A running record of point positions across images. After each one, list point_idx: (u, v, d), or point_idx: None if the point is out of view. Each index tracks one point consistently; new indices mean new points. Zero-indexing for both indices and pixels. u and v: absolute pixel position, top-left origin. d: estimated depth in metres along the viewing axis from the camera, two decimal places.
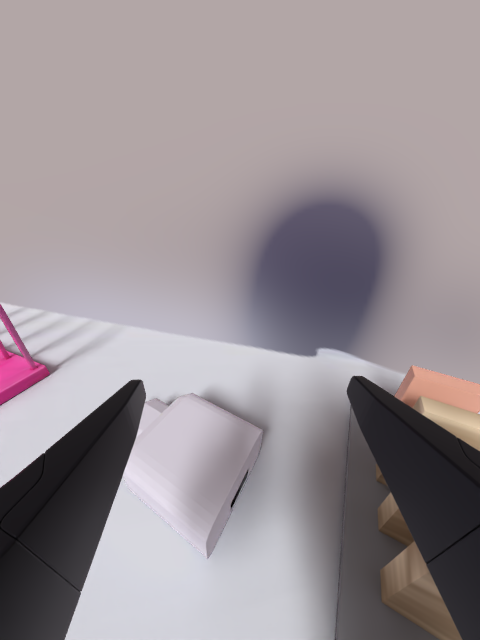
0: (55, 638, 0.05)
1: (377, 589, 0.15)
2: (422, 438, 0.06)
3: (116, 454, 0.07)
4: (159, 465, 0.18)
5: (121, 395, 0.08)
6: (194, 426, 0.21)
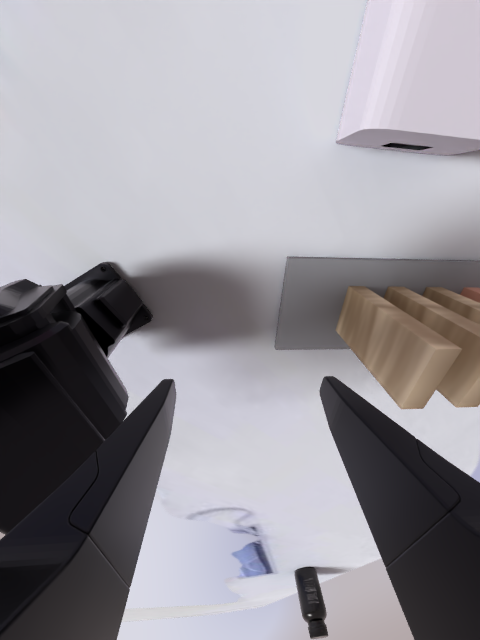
0: (111, 633, 0.05)
1: (353, 283, 0.21)
2: (381, 439, 0.06)
3: (156, 452, 0.07)
4: None
5: (157, 394, 0.08)
6: None
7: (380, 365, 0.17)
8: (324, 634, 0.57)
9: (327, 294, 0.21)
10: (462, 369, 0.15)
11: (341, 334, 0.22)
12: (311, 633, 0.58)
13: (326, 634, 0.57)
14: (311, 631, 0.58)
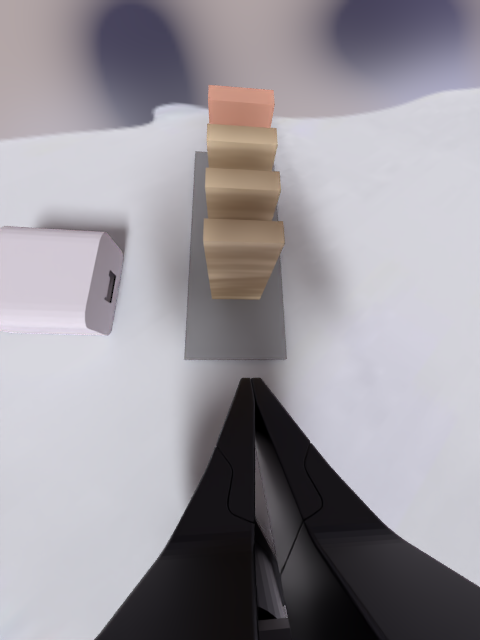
0: None
1: (209, 294, 0.23)
2: (273, 444, 0.06)
3: None
4: (10, 303, 0.17)
5: (245, 392, 0.08)
6: (26, 258, 0.19)
7: (257, 266, 0.16)
8: None
9: (220, 316, 0.22)
10: (241, 200, 0.15)
11: (258, 295, 0.22)
12: None
13: None
14: None
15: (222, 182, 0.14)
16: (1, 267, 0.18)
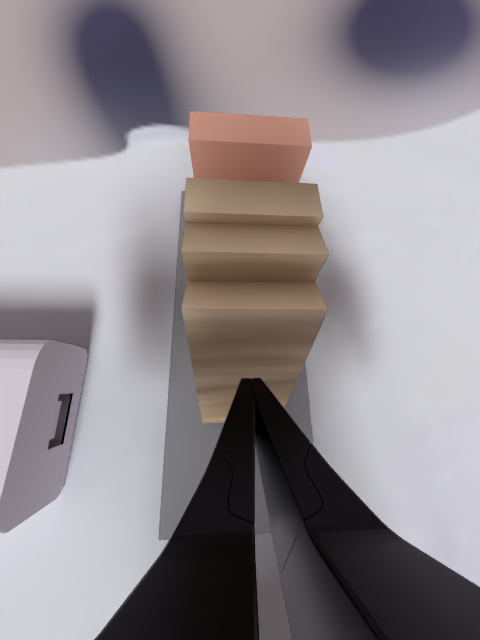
0: None
1: (200, 417, 0.15)
2: (273, 444, 0.06)
3: None
4: None
5: (245, 392, 0.08)
6: None
7: (277, 359, 0.10)
8: None
9: None
10: (252, 273, 0.08)
11: None
12: None
13: None
14: None
15: (216, 243, 0.08)
16: None
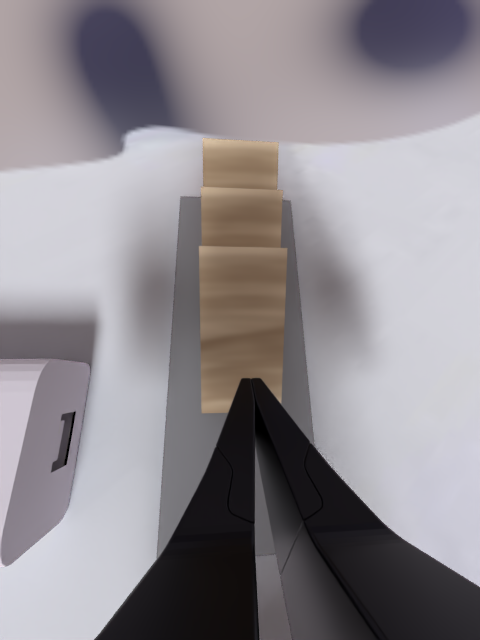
0: None
1: (199, 434, 0.15)
2: (273, 444, 0.06)
3: None
4: None
5: (245, 392, 0.08)
6: None
7: (264, 299, 0.13)
8: None
9: None
10: (241, 205, 0.14)
11: (277, 393, 0.14)
12: None
13: None
14: None
15: None
16: None
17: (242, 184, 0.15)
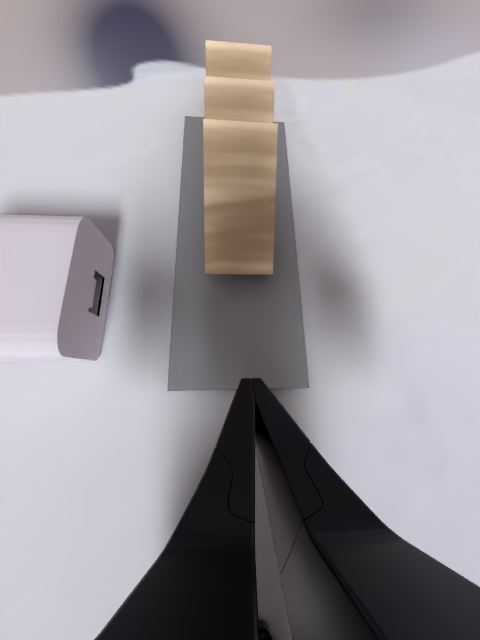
0: None
1: (203, 299, 0.17)
2: (273, 444, 0.06)
3: None
4: None
5: (245, 392, 0.08)
6: None
7: (258, 170, 0.15)
8: None
9: (217, 329, 0.16)
10: (239, 94, 0.16)
11: (269, 257, 0.16)
12: None
13: None
14: None
15: None
16: None
17: None
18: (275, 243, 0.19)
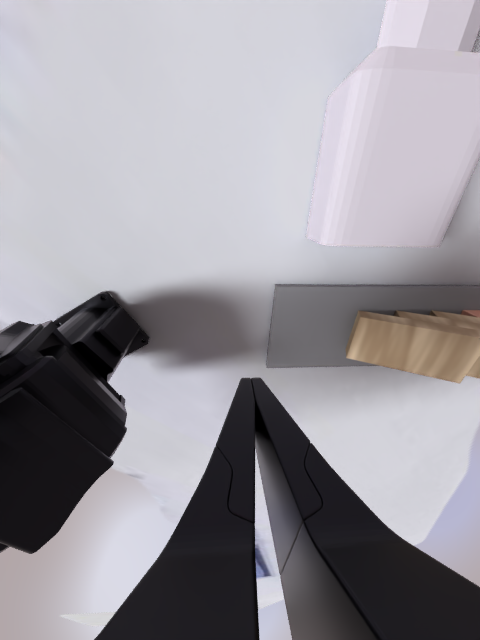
0: None
1: (338, 308, 0.22)
2: (273, 444, 0.06)
3: None
4: (373, 141, 0.13)
5: (245, 392, 0.08)
6: (438, 148, 0.13)
7: (429, 365, 0.21)
8: None
9: (314, 318, 0.23)
10: None
11: (359, 358, 0.23)
12: None
13: None
14: None
15: None
16: (436, 108, 0.12)
17: None
18: None
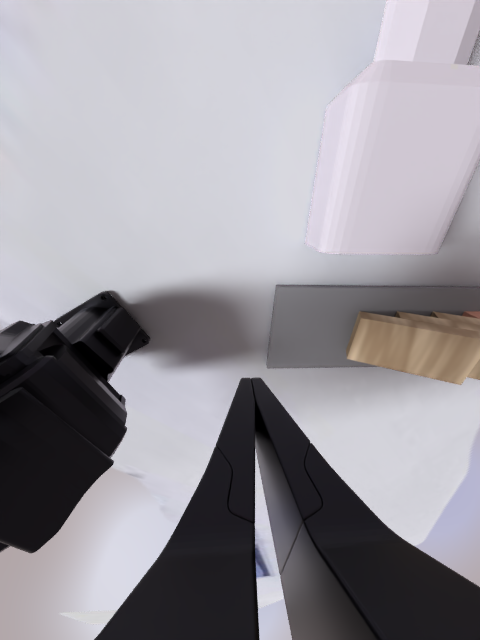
0: None
1: (339, 309, 0.22)
2: (273, 444, 0.06)
3: None
4: (370, 152, 0.13)
5: (245, 392, 0.08)
6: (434, 158, 0.13)
7: (430, 366, 0.21)
8: None
9: (314, 318, 0.23)
10: None
11: (360, 359, 0.23)
12: None
13: None
14: None
15: None
16: (433, 119, 0.12)
17: None
18: None
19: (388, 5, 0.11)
